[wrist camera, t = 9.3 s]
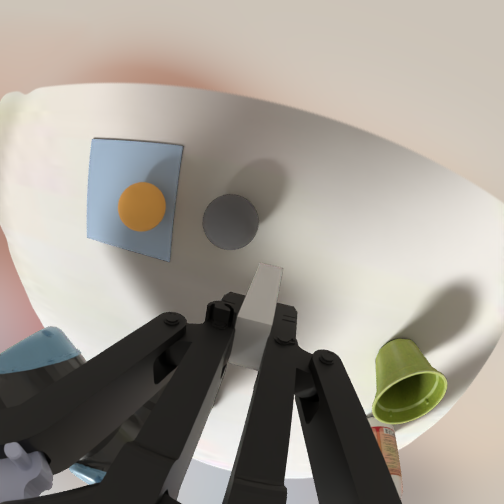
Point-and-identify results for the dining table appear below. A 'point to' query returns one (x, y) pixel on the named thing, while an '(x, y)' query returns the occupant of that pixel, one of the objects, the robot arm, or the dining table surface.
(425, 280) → the dining table surface
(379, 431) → the fruit juice
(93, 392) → the robot arm
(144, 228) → the ball
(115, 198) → the mark
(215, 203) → the ball
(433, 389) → the plant pot
